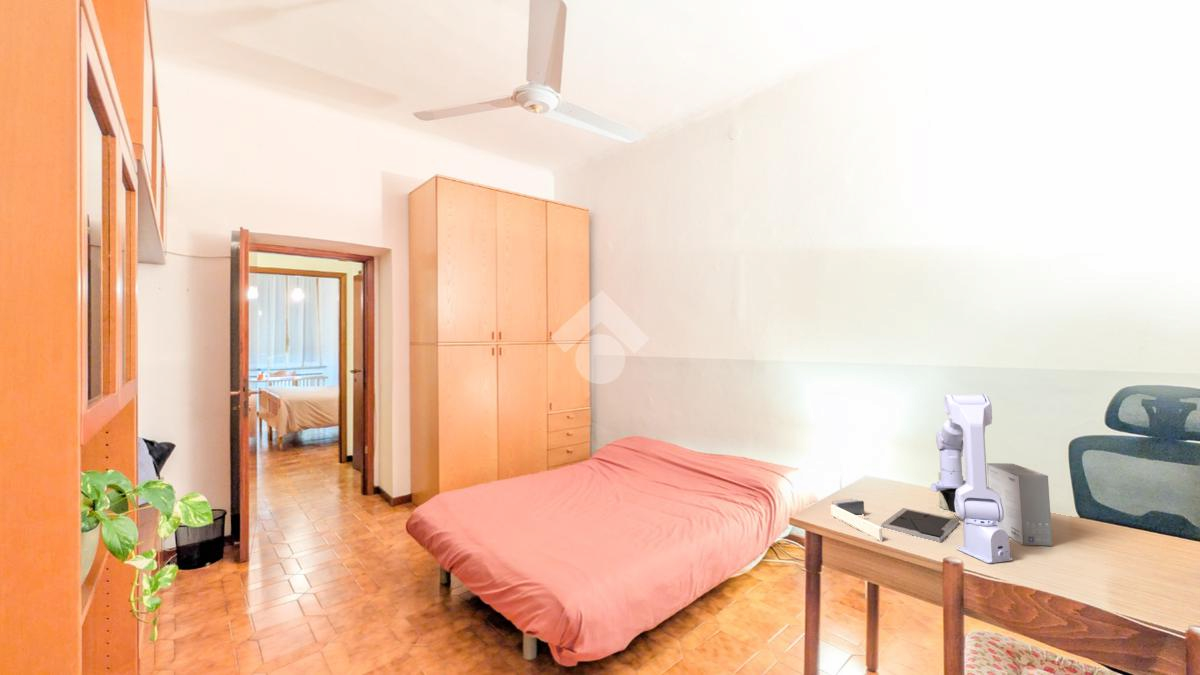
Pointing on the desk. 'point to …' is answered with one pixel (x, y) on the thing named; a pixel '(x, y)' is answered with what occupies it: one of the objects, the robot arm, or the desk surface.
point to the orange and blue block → (843, 501)
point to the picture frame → (921, 524)
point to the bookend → (853, 507)
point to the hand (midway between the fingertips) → (953, 511)
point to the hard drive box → (1022, 502)
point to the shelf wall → (857, 522)
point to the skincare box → (942, 497)
